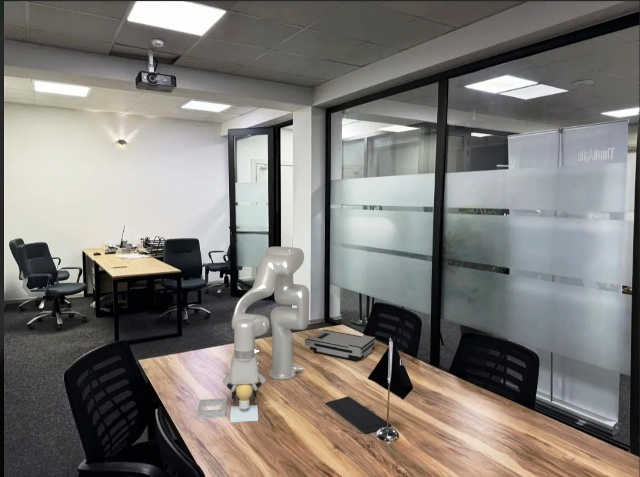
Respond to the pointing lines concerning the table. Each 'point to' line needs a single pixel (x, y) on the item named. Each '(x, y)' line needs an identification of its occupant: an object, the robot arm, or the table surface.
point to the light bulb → (244, 394)
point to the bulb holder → (211, 413)
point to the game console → (341, 345)
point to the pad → (244, 414)
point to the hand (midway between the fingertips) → (244, 399)
